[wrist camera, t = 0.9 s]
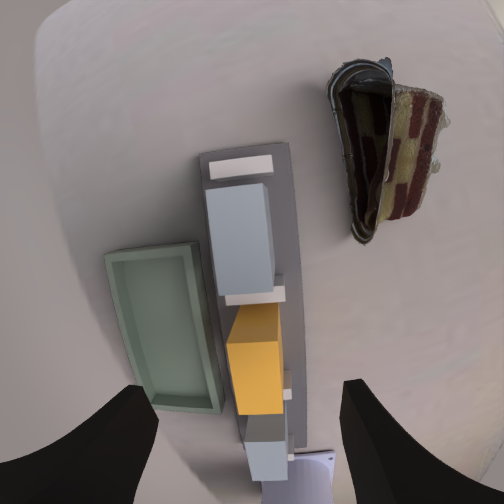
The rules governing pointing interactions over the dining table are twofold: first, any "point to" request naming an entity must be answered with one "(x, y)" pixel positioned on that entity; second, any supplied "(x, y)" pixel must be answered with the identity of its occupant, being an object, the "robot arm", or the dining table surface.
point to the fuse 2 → (267, 446)
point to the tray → (167, 325)
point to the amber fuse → (257, 359)
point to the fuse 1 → (241, 239)
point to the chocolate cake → (384, 141)
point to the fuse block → (286, 268)
